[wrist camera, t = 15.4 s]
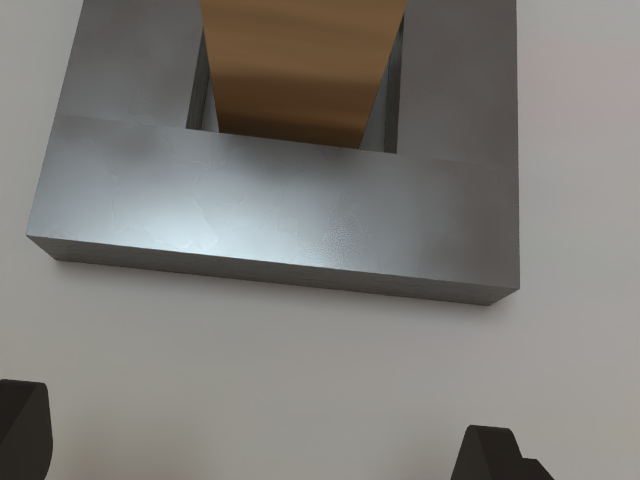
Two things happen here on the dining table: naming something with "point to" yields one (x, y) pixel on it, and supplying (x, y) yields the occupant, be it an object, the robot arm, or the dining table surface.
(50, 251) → the socket plate
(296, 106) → the square peg
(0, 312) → the dining table surface
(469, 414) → the dining table surface
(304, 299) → the dining table surface
